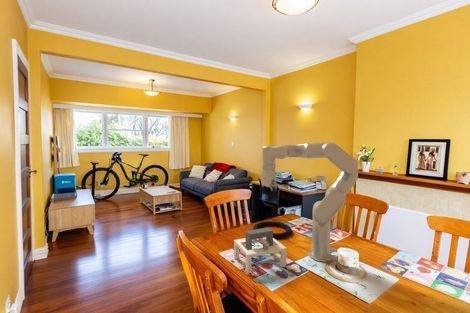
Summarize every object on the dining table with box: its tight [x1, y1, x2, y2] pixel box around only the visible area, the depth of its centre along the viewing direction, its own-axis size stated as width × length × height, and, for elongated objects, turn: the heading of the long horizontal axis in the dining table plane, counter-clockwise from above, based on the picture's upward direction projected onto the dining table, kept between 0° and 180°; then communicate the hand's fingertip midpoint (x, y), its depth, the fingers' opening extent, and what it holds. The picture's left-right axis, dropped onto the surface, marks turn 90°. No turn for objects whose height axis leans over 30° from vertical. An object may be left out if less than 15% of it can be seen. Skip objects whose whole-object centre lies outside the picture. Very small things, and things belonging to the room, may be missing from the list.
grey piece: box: [244, 227, 274, 250], centre depth 133 cm, size 14×5×12 cm, turn 111°
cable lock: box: [252, 220, 293, 240], centre depth 176 cm, size 28×4×30 cm
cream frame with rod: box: [233, 237, 287, 275], centre depth 133 cm, size 22×19×14 cm
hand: (268, 195), depth 146 cm, fingers open, 9 cm apart
